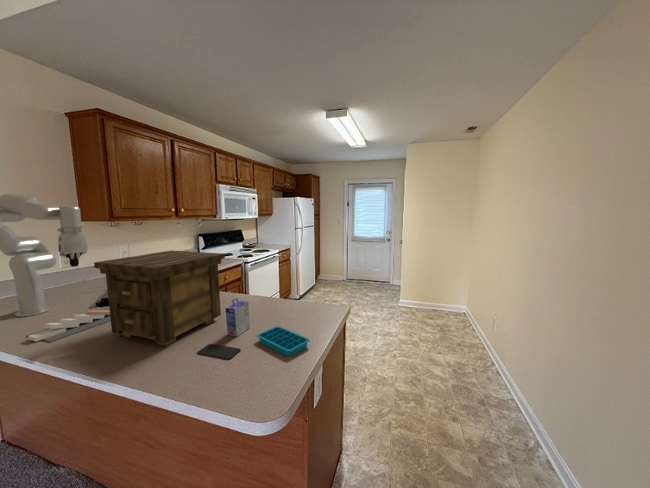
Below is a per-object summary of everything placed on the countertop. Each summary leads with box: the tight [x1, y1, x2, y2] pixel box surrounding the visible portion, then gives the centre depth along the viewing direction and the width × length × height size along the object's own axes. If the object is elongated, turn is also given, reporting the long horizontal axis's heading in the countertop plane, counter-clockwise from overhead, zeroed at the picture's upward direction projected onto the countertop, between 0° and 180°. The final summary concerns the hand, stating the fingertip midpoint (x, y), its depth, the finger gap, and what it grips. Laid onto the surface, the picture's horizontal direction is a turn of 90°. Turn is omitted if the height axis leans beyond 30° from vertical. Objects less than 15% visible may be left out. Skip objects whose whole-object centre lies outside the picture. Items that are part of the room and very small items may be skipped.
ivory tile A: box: [73, 313, 105, 320], centre depth 126 cm, size 5×2×10 cm
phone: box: [197, 343, 242, 361], centre depth 99 cm, size 7×1×15 cm
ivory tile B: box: [59, 317, 93, 324], centre depth 122 cm, size 5×2×10 cm
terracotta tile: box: [85, 309, 110, 316], centre depth 131 cm, size 5×2×10 cm
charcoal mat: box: [26, 308, 111, 343], centre depth 125 cm, size 17×33×1 cm, turn 161°
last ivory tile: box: [27, 328, 66, 342], centre depth 112 cm, size 5×2×10 cm
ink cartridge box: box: [224, 297, 251, 337], centre depth 115 cm, size 10×6×14 cm, turn 161°
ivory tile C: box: [43, 322, 80, 329], centre depth 117 cm, size 5×2×10 cm
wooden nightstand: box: [93, 250, 226, 347], centre depth 118 cm, size 35×35×33 cm
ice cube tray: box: [256, 325, 310, 357], centre depth 104 cm, size 12×20×3 cm, turn 50°
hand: (74, 266), depth 134 cm, fingers closed
